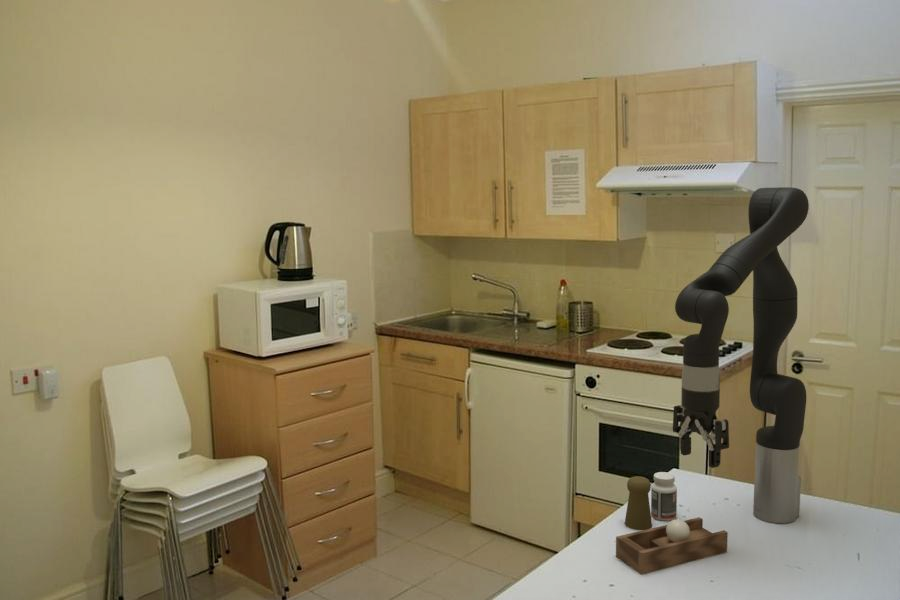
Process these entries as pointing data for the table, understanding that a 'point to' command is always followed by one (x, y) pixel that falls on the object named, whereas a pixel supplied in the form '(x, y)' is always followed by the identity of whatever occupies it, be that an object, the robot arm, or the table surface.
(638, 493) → the pepper mill
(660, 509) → the pill bottle
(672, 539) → the ball
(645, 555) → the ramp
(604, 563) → the table surface
